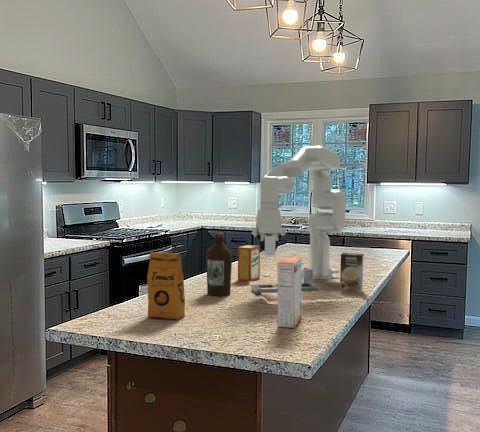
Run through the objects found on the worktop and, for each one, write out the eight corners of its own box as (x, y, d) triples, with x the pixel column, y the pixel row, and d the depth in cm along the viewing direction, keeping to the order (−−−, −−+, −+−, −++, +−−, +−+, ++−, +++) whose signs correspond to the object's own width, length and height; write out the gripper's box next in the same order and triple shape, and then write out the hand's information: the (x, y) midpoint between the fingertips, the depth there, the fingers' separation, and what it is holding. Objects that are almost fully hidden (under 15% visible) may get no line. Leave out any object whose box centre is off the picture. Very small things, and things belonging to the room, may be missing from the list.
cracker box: (284, 316, 181) (285, 255, 180) (301, 318, 179) (302, 256, 178) (275, 327, 168) (276, 261, 166) (294, 329, 166) (295, 262, 165)
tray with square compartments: (310, 288, 230) (310, 282, 230) (318, 293, 220) (318, 287, 220) (251, 290, 225) (251, 284, 225) (257, 295, 215) (257, 289, 215)
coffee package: (177, 322, 173) (177, 255, 172) (143, 319, 177) (143, 253, 175) (189, 315, 183) (189, 251, 181) (156, 312, 186) (156, 249, 185)
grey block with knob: (272, 253, 223) (272, 234, 222) (275, 255, 218) (275, 235, 218) (262, 254, 222) (262, 234, 221) (264, 255, 218) (264, 235, 217)
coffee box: (339, 292, 223) (339, 254, 222) (341, 289, 229) (342, 252, 228) (361, 293, 220) (362, 255, 219) (363, 290, 226) (363, 253, 225)
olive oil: (211, 290, 224) (211, 231, 223) (235, 292, 221) (235, 232, 219) (202, 295, 214) (202, 233, 212) (226, 297, 211) (227, 234, 209)
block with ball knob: (306, 285, 237) (307, 267, 236) (312, 287, 233) (312, 268, 232) (298, 286, 235) (298, 267, 234) (303, 288, 231) (304, 269, 230)
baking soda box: (250, 281, 245) (250, 247, 244) (237, 280, 248) (238, 246, 247) (259, 278, 253) (259, 245, 252) (247, 277, 256) (247, 244, 255)
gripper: (286, 206, 224) (285, 249, 226) (247, 206, 221) (246, 249, 222) (291, 206, 217) (290, 251, 218) (251, 206, 214) (250, 251, 215)
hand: (268, 250), depth 220 cm, fingers closed on grey block with knob, 4 cm apart
